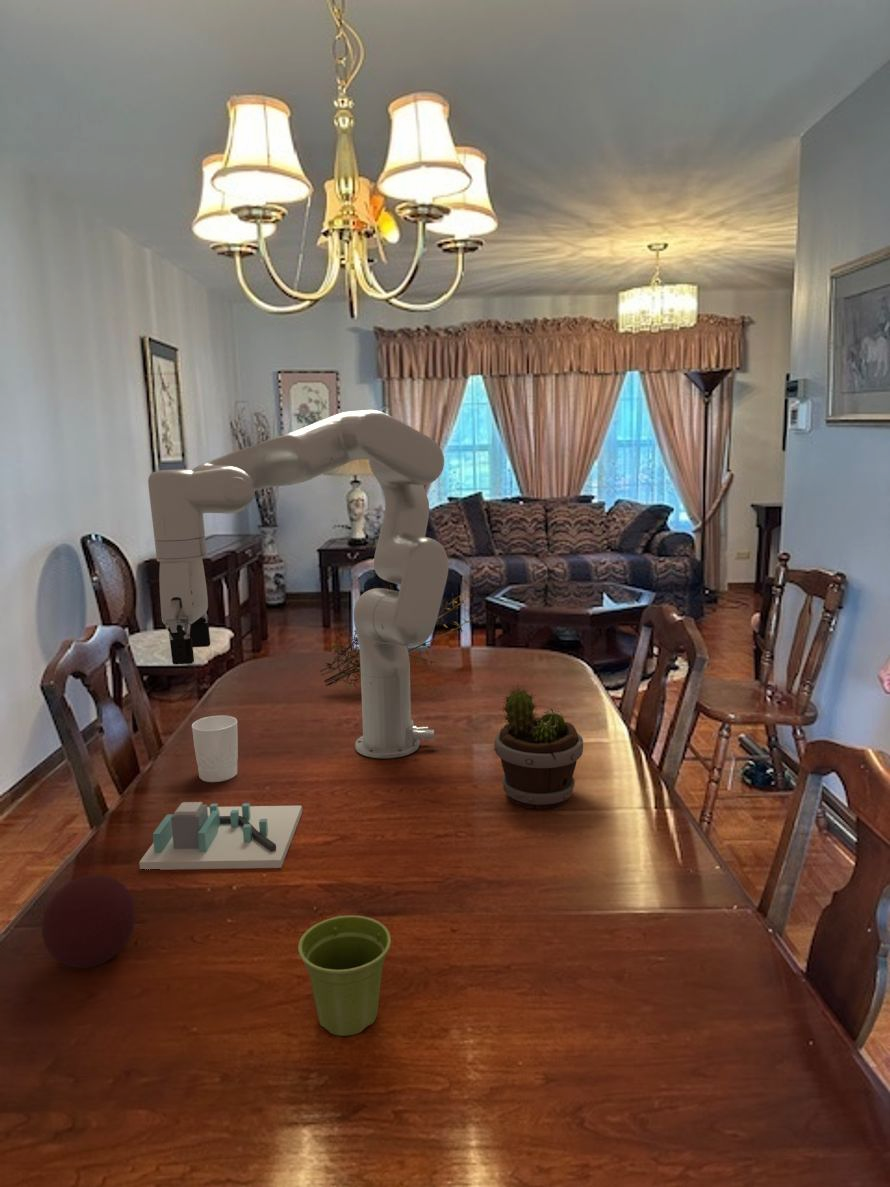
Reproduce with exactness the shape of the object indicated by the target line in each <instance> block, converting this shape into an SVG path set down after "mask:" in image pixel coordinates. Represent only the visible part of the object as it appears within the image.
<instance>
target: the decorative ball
mask: <svg viewBox="0 0 890 1187" xmlns="http://www.w3.org/2000/svg"><path fill="white" fill-rule="evenodd" d="M136 919H137V909H136V905H135V900H134V898H133V896H132V893H131V892H130V890H129V889H128V887H127V886H126V885H125V884H124V883H122V882H121V881H120V880H118V879H117V878H114V877H111V876H108V875H105V874H89V875H87V874H86V875H84V876H80V877H77V878H75V879H72V880H71V881H69V882H67V883H66V884H64V885H63V886H62V887H61V888H60V889H59V890H57V891H56V892H55V894H54V895H53V897H52V898H51V899H50V900H49V901H48V903H47V905H46V907H45V910H44V913H43V916H42V920H41V936H42V941H43V944H44V947H45V948H46V949H47V952H48V953H49V955H51V956H52V957H53V958H54V959H55V960H56V961H57V962H59V963H61V964H63V965H65V966H68V967H72V968H80V969H83V968H91V967H96V966H99V965H101V964H103V963H106V962H107V961H109V960H110V959H112V958H113V957H115V956H116V955H117V954H118V953H120V951H121V950H122V949H124V947H125V946H126V944H127V943H128V942H129V939H130V937H131V935H132V933H133V931H134V928H135V924H136Z"/></svg>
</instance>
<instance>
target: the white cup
mask: <svg viewBox="0 0 890 1187" xmlns="http://www.w3.org/2000/svg"><path fill="white" fill-rule="evenodd" d="M191 730H192V737H193V746H194V753H195V759H196V763H197V769H198V771H197V772H198V777H199V779H200V780H202V781H203V782H207V783H219V782H226V781H228V780H231V779H233V778H234V777H235V776H237V775H238V759H239V755H238V753H239V745H238V744H239V743H238V742H239V741H238V740H239V739H238V738H239V737H238V735H239V734H238V733H239V732H238V719H237V718H236V717H234V716H231V715H220V714H219V715H211V716H206V717H201V718H199V719H197V720H195V721H194V722H193V723H192V724H191Z"/></svg>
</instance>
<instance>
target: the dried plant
mask: <svg viewBox="0 0 890 1187" xmlns="http://www.w3.org/2000/svg"><path fill="white" fill-rule="evenodd" d="M465 583H466V584H468V583H467V580H465ZM393 587H394V586H393V584H390V590H393V589H394V588H393ZM459 590H460V595H459V596H458V597H452V598H451V599H452V601H451V602H450V603H449V602H448V601H445V603H444V607H443V608H442V609H441V612H443V611H444V610H445V609H446V610H447V611H446V612H444V613H443V614H442V615H440V616H438V617H437V620H439V619H440V618H441V617H443V616H445V615H446V614H448V613H449V612H451V611H453V610H459V608H460V607H459V606H460V605H461V604H464V607H465V606H467V605H466V604H465V600H466V599H467V598H470V597H472V596H474V595H476V596H478V593H474V594H471V593H469V592H468V591H466V594H467V596H466V597H465V598H463V599H462V595H464V589H461V588H459ZM453 595H454V592H452V593H451V596H453ZM458 598H459V602H460V603H458V601H457V599H458ZM441 602H444V599H443V598H442V601H441ZM450 604H452V607H453V608H450V607H448V606H449V605H450ZM455 604H457V605H455ZM455 613H456V614H458V612H457V611H455ZM471 617H472V618H473V619H470V620H466V619H465V618H463V617H460V619H462V620H463V621H464V622H463V623H462V624H461V623H458V622H457V621H453V625H455V626H457V627H456V628H451V629H450V630H449V631H447V632H444V633H442V634H441V635H439V636H436V637H435V638H432V639H430V640H427V641H426V642H425V643H423V644H422V645H419V646H417V647H412V648H411V649H409V647H407V649H408V653H409V652H411V651H414V650H416V649H419V648H420V647H426V648H429V649H431V648H432V647H431V646H430V645H431V643H430V642H432V645H434V646H435V644H436V643H435V640H436V639H439V638H441V637H442V636H445V635H447V634H450V633H451V632H452V634H453V635H454V636H453V638H454V639H455V638H456V637H457V636H458V629H459V630H460V631H461V633H463V632H464V629H462V628H463V627H462V626H463V625H465V624H467V625H469V623H472V621H473V620H475V621H476V620H477V618H476V617H474V616H471ZM478 620H479V619H478ZM443 626H444V627H445V628H447V629H449V627H448V626H447V625H446V624H445V623H444V624H443ZM353 627H354V626H353V625H351V626H350V627H349V629H350V636H349V637H347V642H346V643H345V644H344V645H343V646H342V644H341V639H338V642H339V646H340V649H339V647H338V646H336V645H332V648H333V649H334V652H333V654H334V655H335V656H334V657H333V662H332V663H330V662H327V663H326V662H325V667H326V668H323V669H321V670H320V671H319V672H320V673H321V672H323V671H325V670H327V669H328V671H327V672H325V673H322V674H320V676H324V675H326V674H329V673H332V672H333V673H334V671H336V670H338V671H339V672H337V673H336V674H333V675H332V676H331V677H328V678H326V679H325V680H324V681H323V683H326V684H324V687H329V686H331V685H333V684H334V685H336V684H337V683H338V682H339V681H340V682H342V681H343V683H342V685H344V687H346V686H347V685H348V688H347V689H348V690H350V689H351V687H352V685H353V686H354V688H358V687H357V685H356V683H361V666H360V661H359V660H358V659H357V658H359V659H360V651H359V647H358V646H359V643H358V638H357V634H356V629H354V630H353ZM467 627H468V629H469V626H467ZM353 631H354V634H353ZM344 633H345V635H346V636H348V634H347V633H346V632H344ZM350 642H351V643H350ZM347 644H349V646H348V647H347V646H346V645H347ZM345 646H346V647H345ZM357 649H358V650H357ZM425 651H426V654H427V655H430V654H429V652H428V650H425ZM352 653H355V654H352ZM343 657H345V659H342V658H343ZM411 657H413V658H414V662H415V664H417V663H419V662H420V660H419V659H421V662H422V663H423V664H426V662H429V664H430V666H432V665H433V664H434V663H436V664H437V663H438V662H436V661H434V660H428V659H425V658H422V657H419V656H416V655H415V656H414V655H411ZM354 659H356V660H355V661H354ZM353 661H354V662H353ZM425 661H426V662H425ZM335 663H337V666H335V667H333V665H334V664H335ZM345 664H346V665H345ZM350 665H351V667H350ZM342 666H344V667H343V669H342V670H341V669H340V667H342ZM359 672H360V673H359ZM411 673H412V674H413V673H414V672H413V671H411ZM354 674H357V676H356V675H354ZM351 675H352V676H354V677H355V678H351V679H350V676H351ZM345 677H346V679H344V678H345ZM359 680H360V681H359ZM410 684H413V685H414V686H415V685H416V682H415V681H411V680H410ZM418 684H419V685H420V683H417V685H418ZM421 685H422V686H426V687H427V685H425V684H422V683H421ZM428 687H429V688H430V690H431V691H432V690H433V691H435V692H436V693H437V694H438V692H440V693H441V694H443V692H442V691H440V690H439V689H436V688H434V687H432V686H428ZM347 689H346V690H347Z"/></svg>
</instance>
